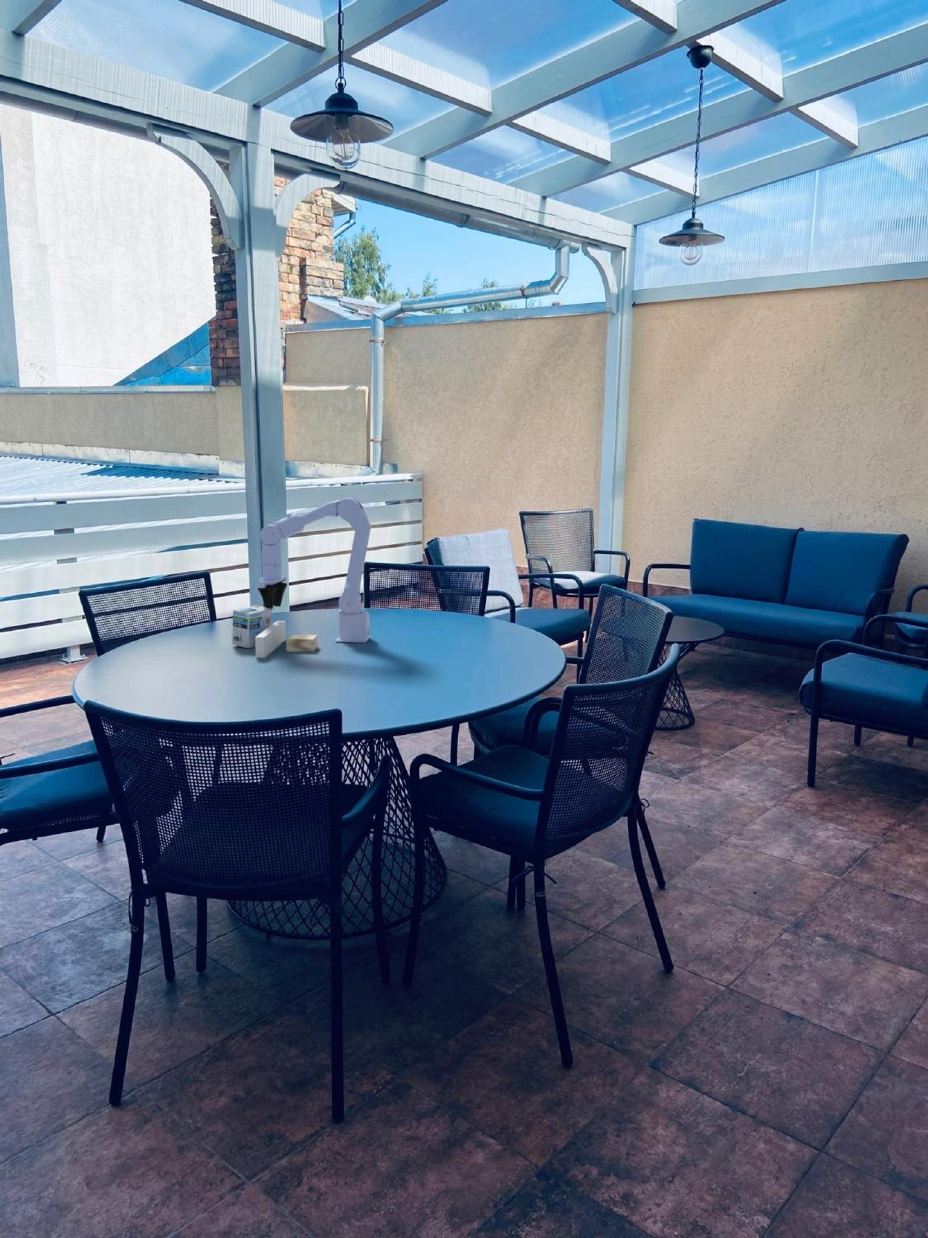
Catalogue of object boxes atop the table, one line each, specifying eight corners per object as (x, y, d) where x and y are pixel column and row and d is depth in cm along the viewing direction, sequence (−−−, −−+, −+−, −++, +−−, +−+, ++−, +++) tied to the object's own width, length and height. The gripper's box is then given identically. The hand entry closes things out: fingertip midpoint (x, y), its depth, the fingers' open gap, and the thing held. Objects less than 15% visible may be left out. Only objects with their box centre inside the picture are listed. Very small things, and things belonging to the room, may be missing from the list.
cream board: (285, 639, 279) (285, 621, 278) (264, 658, 255) (263, 637, 254) (277, 639, 279) (277, 620, 278) (255, 657, 255) (255, 637, 254)
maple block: (317, 648, 269) (317, 635, 269) (313, 652, 264) (313, 639, 263) (291, 647, 270) (290, 634, 269) (286, 652, 264) (286, 638, 263)
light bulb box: (248, 649, 266) (249, 613, 264) (231, 644, 269) (231, 610, 266) (271, 642, 275) (272, 608, 273) (254, 638, 278) (255, 604, 276)
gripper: (271, 560, 282) (272, 602, 285) (248, 566, 268) (249, 610, 271) (291, 561, 280) (292, 604, 283) (269, 567, 266) (270, 612, 269)
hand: (273, 607), depth 277 cm, fingers open, 5 cm apart
